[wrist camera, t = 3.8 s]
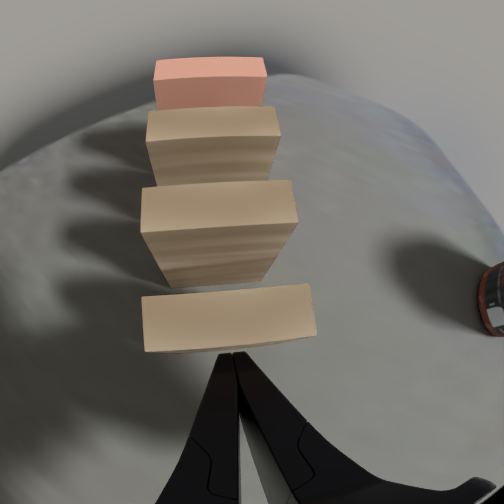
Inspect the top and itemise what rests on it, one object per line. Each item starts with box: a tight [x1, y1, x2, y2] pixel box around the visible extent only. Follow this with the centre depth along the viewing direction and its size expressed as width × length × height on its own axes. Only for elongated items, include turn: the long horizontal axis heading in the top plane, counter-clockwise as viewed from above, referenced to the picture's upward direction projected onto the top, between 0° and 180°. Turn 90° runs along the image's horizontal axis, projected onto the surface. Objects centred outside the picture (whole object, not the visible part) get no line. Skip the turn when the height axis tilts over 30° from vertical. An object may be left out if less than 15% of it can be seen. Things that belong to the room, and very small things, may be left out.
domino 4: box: [154, 57, 267, 110], centre depth 16 cm, size 2×5×8 cm, turn 96°
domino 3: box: [146, 106, 281, 187], centre depth 15 cm, size 2×5×8 cm, turn 97°
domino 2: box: [141, 180, 298, 288], centre depth 14 cm, size 2×5×8 cm, turn 97°
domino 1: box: [142, 283, 317, 354], centre depth 12 cm, size 2×5×8 cm, turn 97°
